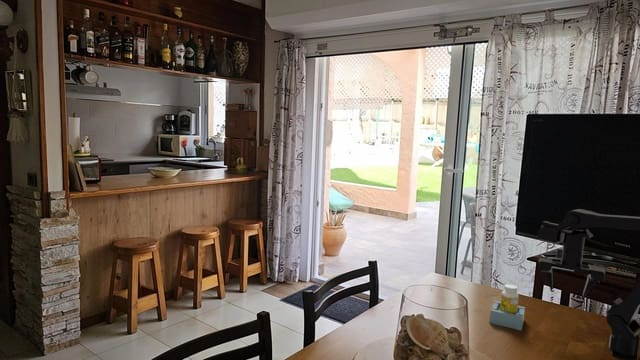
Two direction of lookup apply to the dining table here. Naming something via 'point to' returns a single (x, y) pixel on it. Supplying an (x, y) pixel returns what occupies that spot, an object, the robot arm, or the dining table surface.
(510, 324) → the teal tray
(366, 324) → the dining table surface
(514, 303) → the supplement bottle
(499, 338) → the dining table surface
